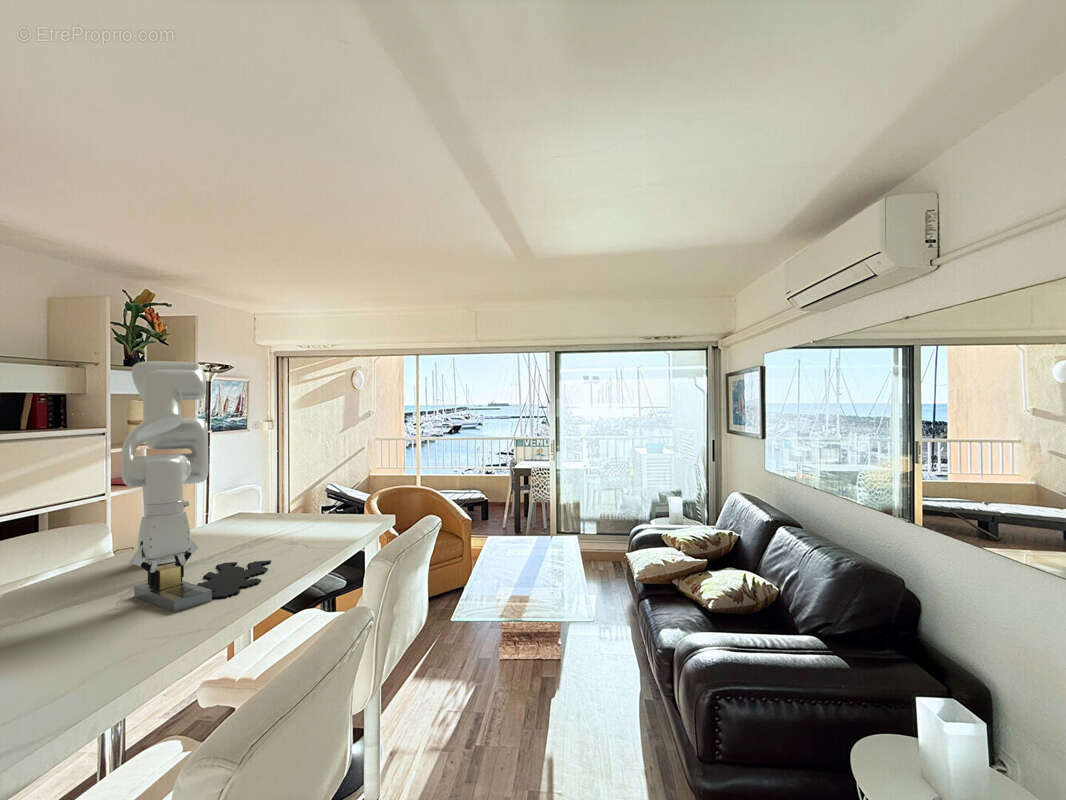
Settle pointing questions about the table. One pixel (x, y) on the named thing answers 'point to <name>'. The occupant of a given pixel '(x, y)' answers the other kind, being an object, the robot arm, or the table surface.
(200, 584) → the black pixelated cutout
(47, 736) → the table surface
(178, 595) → the rail
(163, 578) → the block
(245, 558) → the table surface
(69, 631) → the table surface
